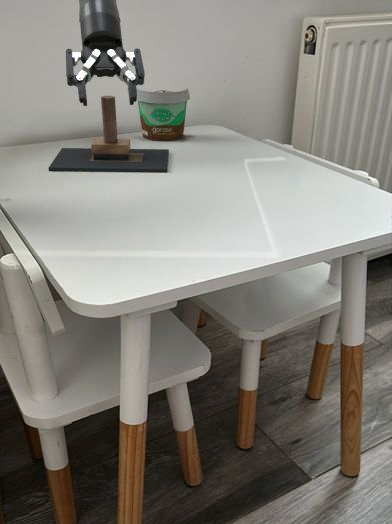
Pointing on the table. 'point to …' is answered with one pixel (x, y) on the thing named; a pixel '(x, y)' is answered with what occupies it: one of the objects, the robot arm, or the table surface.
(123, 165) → the mat
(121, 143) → the brush
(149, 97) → the food container
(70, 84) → the robot arm
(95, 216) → the table surface
